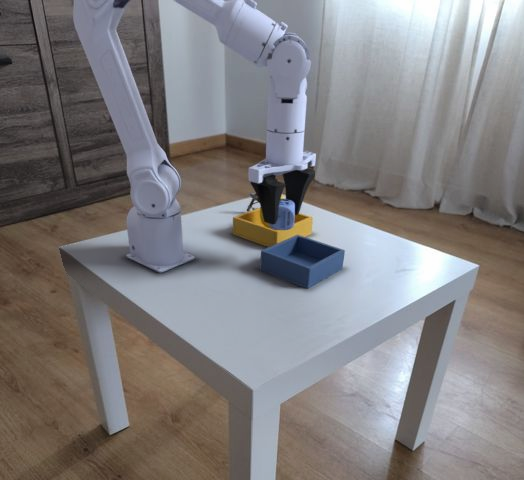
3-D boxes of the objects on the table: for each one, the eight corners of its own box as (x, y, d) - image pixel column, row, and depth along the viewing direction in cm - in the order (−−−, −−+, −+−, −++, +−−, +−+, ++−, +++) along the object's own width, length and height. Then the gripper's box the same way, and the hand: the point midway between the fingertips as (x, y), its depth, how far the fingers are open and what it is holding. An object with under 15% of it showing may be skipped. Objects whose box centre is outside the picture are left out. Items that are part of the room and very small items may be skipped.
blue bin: (260, 269, 84) (260, 250, 82) (296, 252, 91) (297, 234, 89) (308, 288, 79) (309, 268, 77) (342, 268, 85) (345, 250, 83)
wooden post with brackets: (245, 206, 108) (253, 188, 105) (275, 226, 108) (284, 208, 105) (241, 209, 107) (250, 191, 104) (272, 228, 107) (281, 211, 104)
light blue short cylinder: (269, 230, 80) (270, 206, 78) (268, 221, 83) (269, 198, 81) (293, 230, 80) (295, 206, 78) (292, 222, 84) (293, 198, 81)
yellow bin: (232, 234, 97) (232, 217, 95) (268, 220, 104) (269, 204, 102) (276, 250, 91) (277, 232, 89) (311, 234, 98) (313, 217, 96)
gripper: (275, 141, 67) (272, 236, 74) (334, 127, 76) (326, 213, 84) (237, 133, 70) (238, 224, 78) (298, 120, 80) (293, 203, 87)
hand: (281, 218), depth 81 cm, fingers closed on light blue short cylinder, 5 cm apart
